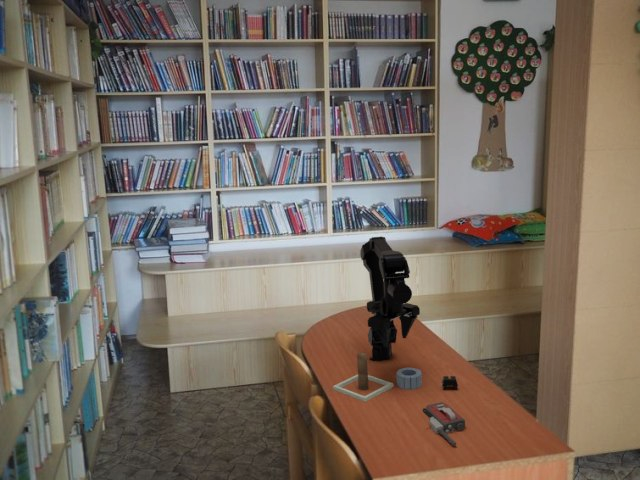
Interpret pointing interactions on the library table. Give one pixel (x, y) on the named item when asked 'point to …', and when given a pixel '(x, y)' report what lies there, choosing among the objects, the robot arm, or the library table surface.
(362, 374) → the dowel
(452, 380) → the black angular piece
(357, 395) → the tray
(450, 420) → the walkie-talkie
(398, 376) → the ring
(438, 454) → the library table surface
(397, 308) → the robot arm
